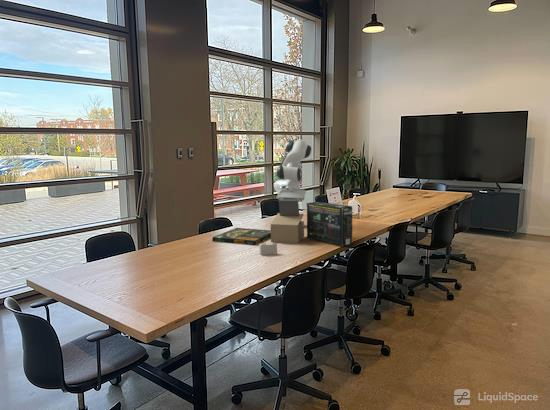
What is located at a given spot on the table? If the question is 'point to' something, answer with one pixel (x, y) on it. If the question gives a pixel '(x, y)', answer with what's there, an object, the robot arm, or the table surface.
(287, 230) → the carton
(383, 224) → the table surface
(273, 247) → the model
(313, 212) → the router box
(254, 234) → the pizza box
